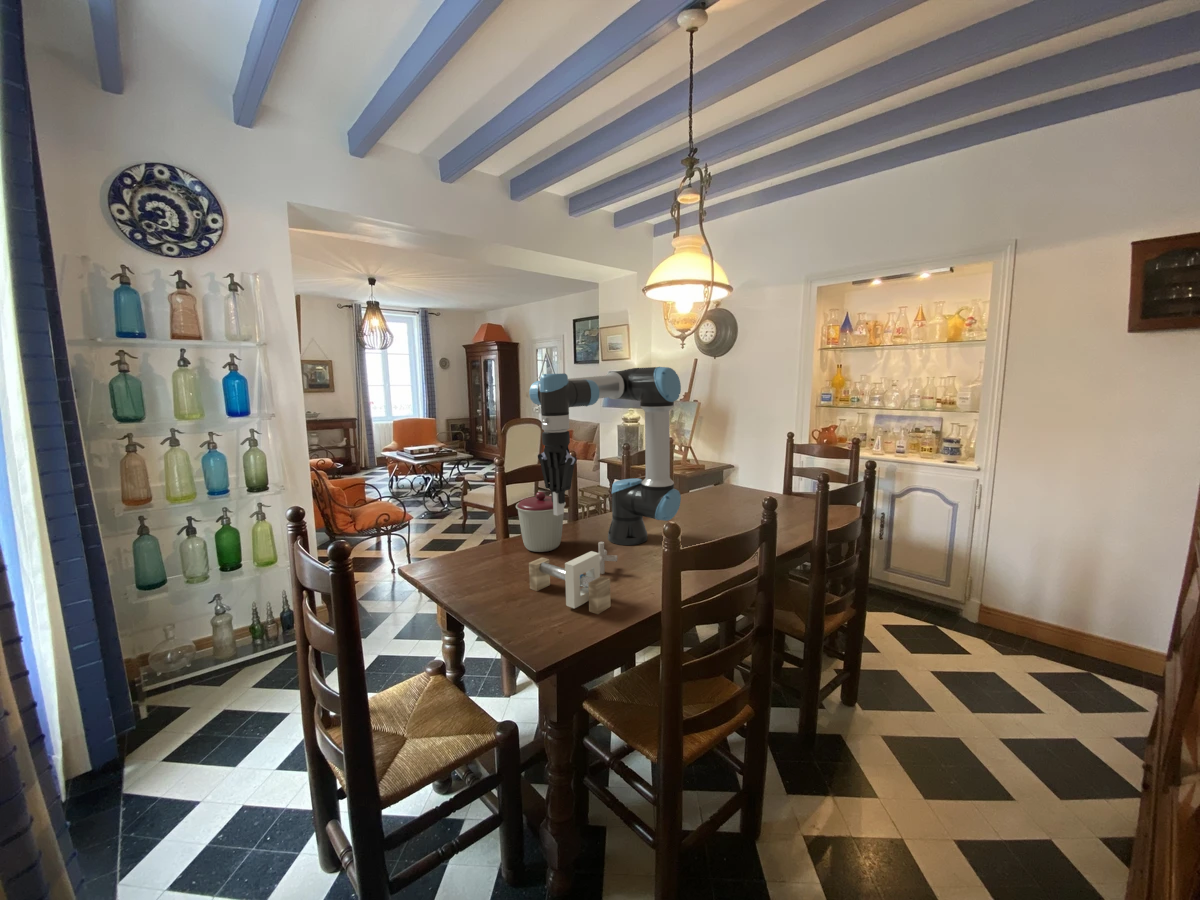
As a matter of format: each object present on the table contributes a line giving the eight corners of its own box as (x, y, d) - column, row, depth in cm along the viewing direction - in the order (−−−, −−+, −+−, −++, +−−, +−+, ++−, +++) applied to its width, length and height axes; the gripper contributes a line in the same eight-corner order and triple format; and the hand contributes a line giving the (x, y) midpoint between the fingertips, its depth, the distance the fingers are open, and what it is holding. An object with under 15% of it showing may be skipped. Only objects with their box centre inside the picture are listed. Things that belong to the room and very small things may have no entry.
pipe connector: (614, 580, 146) (614, 549, 144) (582, 578, 148) (582, 547, 146) (619, 567, 156) (619, 538, 154) (590, 565, 158) (589, 536, 156)
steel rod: (533, 572, 141) (532, 561, 141) (541, 568, 144) (540, 558, 143) (598, 595, 126) (598, 583, 125) (606, 590, 128) (606, 579, 128)
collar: (566, 605, 128) (564, 563, 126) (592, 590, 137) (591, 551, 135) (574, 608, 126) (573, 565, 125) (600, 593, 135) (599, 553, 133)
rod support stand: (529, 588, 141) (528, 563, 140) (543, 582, 145) (542, 557, 144) (597, 614, 125) (597, 585, 124) (610, 606, 129) (610, 578, 128)
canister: (532, 560, 163) (530, 500, 160) (509, 546, 177) (506, 491, 174) (576, 548, 174) (575, 492, 170) (551, 536, 188) (549, 483, 185)
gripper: (529, 430, 131) (532, 513, 135) (563, 433, 123) (566, 521, 127) (548, 427, 137) (551, 507, 140) (582, 430, 129) (585, 514, 132)
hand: (558, 513), depth 134 cm, fingers closed
